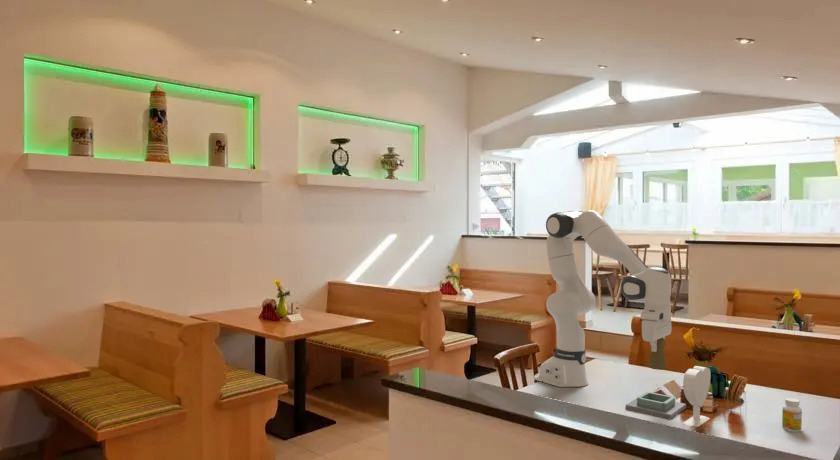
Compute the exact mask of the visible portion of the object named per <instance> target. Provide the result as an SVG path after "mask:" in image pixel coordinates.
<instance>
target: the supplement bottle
mask: <svg viewBox="0 0 840 460" xmlns="http://www.w3.org/2000/svg"><path fill="white" fill-rule="evenodd" d="M784 403H785V404H783V406H782V415H781V416H782V417H781V418H782V419H781V421H782V423H781V426H782V427H781V428H782V429H784V430H785V429H786V431H788V430H790V431H789V432H793V431H799V432H801V431H802V423H803V422H802V419H803V417H802V416H803V410H802V407H800V400H799V399H797V398H792V397H788V398H787V397H786V398H785V399H784Z"/></svg>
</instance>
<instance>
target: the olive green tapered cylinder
mask: <svg viewBox="0 0 840 460" xmlns="http://www.w3.org/2000/svg"><path fill="white" fill-rule="evenodd" d="M666 343H667V342H666V338H665V339H664V338H660V339H658V340H657V347H658V351H656V352H652V351H651V350H650V355H649V362H648V363H649V364H648V368H650V369H652V370H661V371H662V370H666V369H667V363H666V355H665V353H666V352H665V346H666Z"/></svg>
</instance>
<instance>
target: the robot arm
mask: <svg viewBox="0 0 840 460" xmlns="http://www.w3.org/2000/svg"><path fill="white" fill-rule="evenodd" d="M545 229H546V232H547V233H548V236H547V238H546V253H547V254H546V255H547V259H548V264H549V268H550V269H549V270H550V274H551V278H552V279H553V280H554V281H555V282H556V283H557V284H558V286H559V287H560V289H561V290H558V291H556V292H554V293H552V294H550V295H549V296H548V297H547V299H546V301H545V302H546V305H545V306H546V310H547V312H548V313H549V314H550V315H551V316H552V318H553V320H554V324H555V326H556V334H557V336H556V337H557V342H556V343H557V346H556V347H555V348H553V349H552V350H551V354H552V353H553V354H552V355H553V356H551V357H550V358H548V359H546V360H545V361H544V362H542V363H541V365H540V367H539V370H538V371H539V372H538V373H536V374H534V376H533V380H535V381H539V382H541V383H545V384H549V385H552V386H556V387H559V388H567V387H570V388H571V387H572V388H577V387H579V388H580V387H585V386H587V385H588V384H589V380H588V377H587V372H586V358H587V357H586V349H585V347H586V346H585V338H586V337H585V336H586V334H585V333H586V332H585V329H584V328H583V327H581V325H580V322H579V318H578V316H580V315H585V314H587V313H589V312H591V311H592V310H593V309H594V308H595V307H596V302H597V301H596V296H595V294H594V293H593V292H592V291H591V290H589V288H588V287H587V286H586V284H585V282H584V281H583V278H582V277H581V274H580V272H579V268H578V265H577V261H576V259H577V258H576V256H575V252H574V247H573V243H574V242H575V241H574V240H576V241H579V240H581V239H582V238H583V240H584V241H585V242H586V244H587V246H588V247H589V248H590V249H591V250H592V251H593V253H595V254H596V255H598V256H601V257H605V258H608V259H612V260H615V261H617V262H620V263H621V264H622V265H623V266H624V268H626V270H627V271H629V273H630V274H631V275H627V276H625V277H624V278H623V279H622V281H621V283H620V292H621V294H622V296H624V297H623V298H625V299H626V300H629V301H635V302H636V301H644V308H643V309H642V311H641V313H640V319H641V337H642V339H643V341H644V342H649V344H650V346H651V347H650V349H651V350H650V352H651V351H652V352H656V351H658V347H657V340H658V339H660V338H664V339H665V340H666V338H665V337H667V336H669V335H671V333H672V330H673V329H672V302H671V294H672V279H671V274H670V272H669V271H668V270H667V269H665V268H662V267H659V266H658V267H657V266H649V267H648V266H647V265H646V263H645V262H644V261H643V260H642V259H641V258H640V257H639V256H638V255H637V253H636V252H634V250H633V249H632V248H631V247H630V246H629V245H628V244H627V243H626V242H624V241H623V240H622V239H621V238H620V236H619V235H618V234H617V233H616V232H615V231H614V230H613V228H612V226H611V225H610V224H609V223H608V222H607V221H606V219H604V217H602V216H601V215H600V214H599V213H598V212H597V211H595V210H592V209H588V210H583V211H582V210H581V211H576V210H568V211H563V212H561V211H560V212H559V211H558V212H555V213H552V214H550V215H549V216H548V217H547V219H546V222H545ZM542 381H543V382H542Z"/></svg>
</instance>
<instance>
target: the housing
mask: <svg viewBox="0 0 840 460" xmlns="http://www.w3.org/2000/svg"><path fill="white" fill-rule="evenodd" d="M686 409H687V404H686V403H684V402H680V401H676V397H674V396H671V395H665V394H661V393H656V392H649V391H645V392H644V393H642V394H641V395H638V396H637V397H636V398H635V399H633V400H631V401H630V402H628V403H626V404H625V410H629V411H633V412H638V413H642V414H647V415H651V416H655V417H659V418H664V419H668V420H672V419H674V418H675V417H676V416H677V415H679V414H680V413H682V412H683V411H684V410H686Z"/></svg>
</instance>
